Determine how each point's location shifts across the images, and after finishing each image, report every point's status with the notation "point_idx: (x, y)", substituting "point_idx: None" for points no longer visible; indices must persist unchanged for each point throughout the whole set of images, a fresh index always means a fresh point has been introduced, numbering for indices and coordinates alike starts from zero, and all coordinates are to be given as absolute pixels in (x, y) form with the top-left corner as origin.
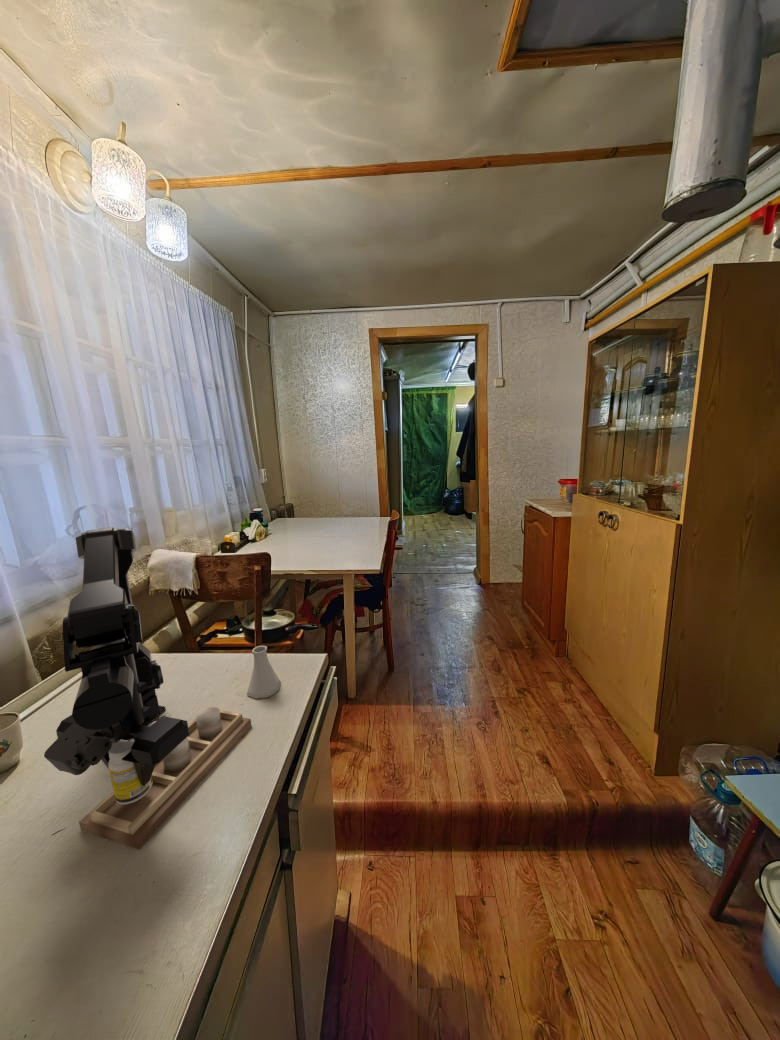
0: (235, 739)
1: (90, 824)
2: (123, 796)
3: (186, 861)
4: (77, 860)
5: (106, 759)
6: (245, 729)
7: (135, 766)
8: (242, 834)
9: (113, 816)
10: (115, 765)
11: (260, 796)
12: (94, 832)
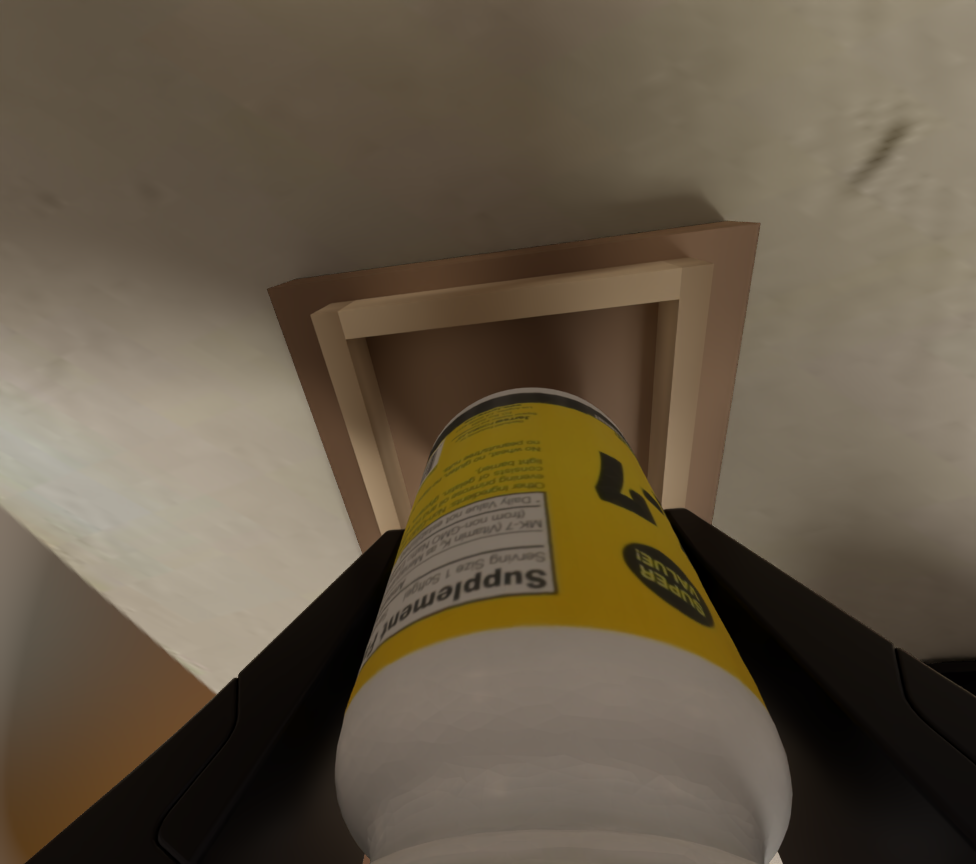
0: None
1: (658, 244)
2: (472, 428)
3: (49, 329)
4: (556, 84)
5: (853, 722)
6: None
7: (228, 759)
8: (9, 484)
9: (562, 334)
10: (502, 740)
11: (127, 596)
12: (613, 237)
